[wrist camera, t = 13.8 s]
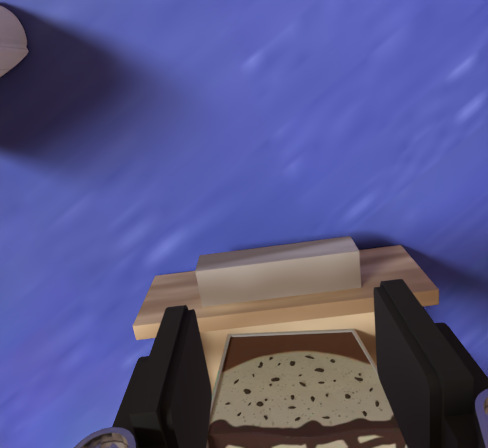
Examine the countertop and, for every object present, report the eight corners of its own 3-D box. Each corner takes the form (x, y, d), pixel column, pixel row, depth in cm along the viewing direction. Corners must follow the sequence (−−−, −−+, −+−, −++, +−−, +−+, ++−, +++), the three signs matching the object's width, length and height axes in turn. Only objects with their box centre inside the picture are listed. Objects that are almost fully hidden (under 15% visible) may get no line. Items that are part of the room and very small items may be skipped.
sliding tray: (148, 245, 32) (122, 290, 25) (400, 212, 30) (439, 250, 24) (184, 399, 36) (171, 468, 30) (403, 375, 35) (436, 442, 29)
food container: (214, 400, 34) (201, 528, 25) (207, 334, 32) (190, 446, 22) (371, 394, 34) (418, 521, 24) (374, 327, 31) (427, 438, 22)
